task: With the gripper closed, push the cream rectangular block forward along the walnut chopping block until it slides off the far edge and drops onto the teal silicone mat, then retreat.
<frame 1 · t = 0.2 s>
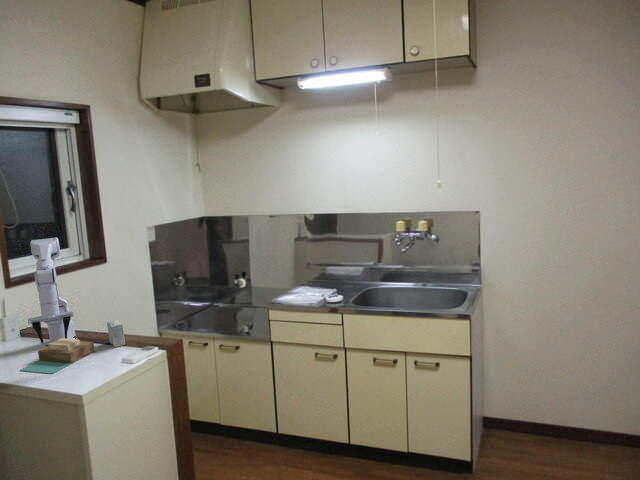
hand: (54, 340, 187), 11 cm above the countertop, tool pointing down, fingers open, 7 cm apart
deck: (67, 356, 200), on the countertop
medicine box: (117, 344, 211), on the countertop
mat: (45, 367, 191), on the countertop
cream rectangular block: (65, 346, 199), point 4 cm above the countertop, touching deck
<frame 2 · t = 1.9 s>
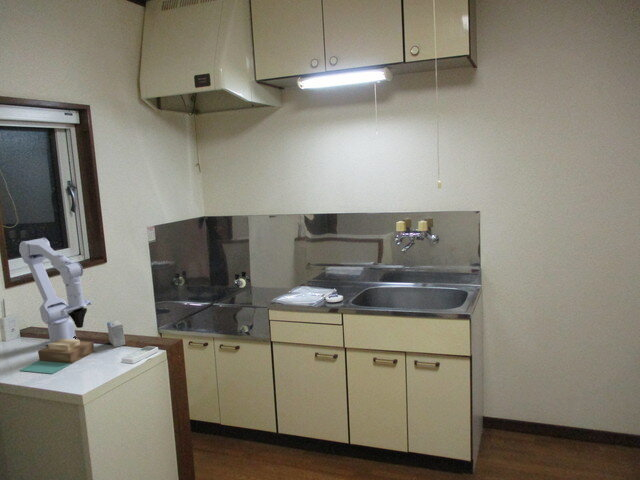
hand: (79, 327, 206), 9 cm above the countertop, tool pointing down, fingers closed
nothing on the countertop moved.
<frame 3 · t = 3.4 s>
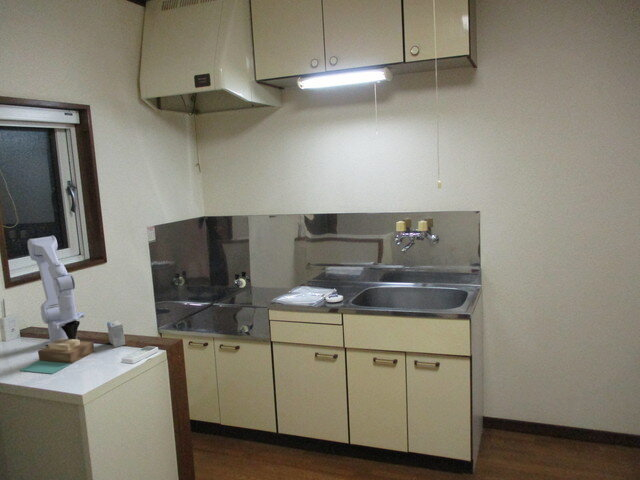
hand: (72, 340, 203), 5 cm above the countertop, tool pointing down, fingers closed
cream rectangular block: (64, 346, 199), point 4 cm above the countertop, touching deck, gripper
everything else where it was.
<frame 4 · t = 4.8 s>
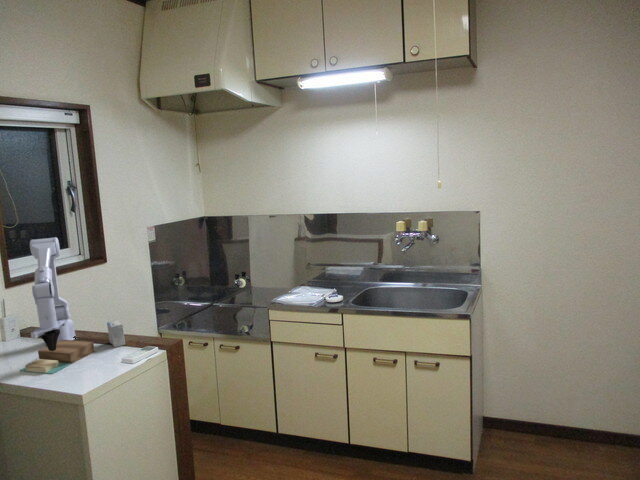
hand: (52, 350, 194), 5 cm above the countertop, tool pointing down, fingers closed
cream rectangular block: (41, 363, 189), point 2 cm above the countertop, tilted 180°, touching mat
everything else where it was.
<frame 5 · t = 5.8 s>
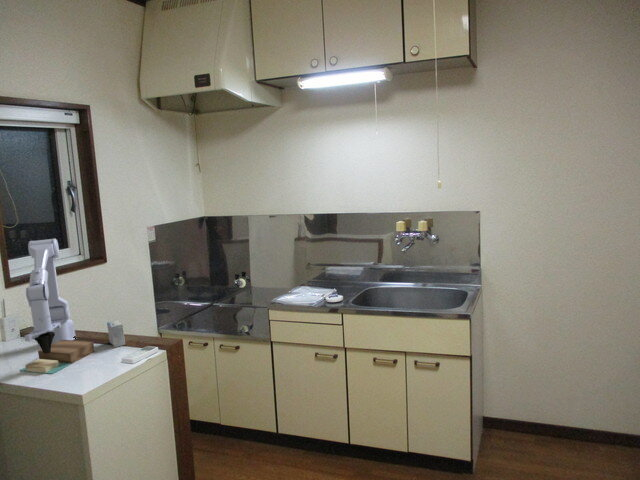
hand: (46, 352, 191), 5 cm above the countertop, tool pointing down, fingers closed
nothing on the countertop moved.
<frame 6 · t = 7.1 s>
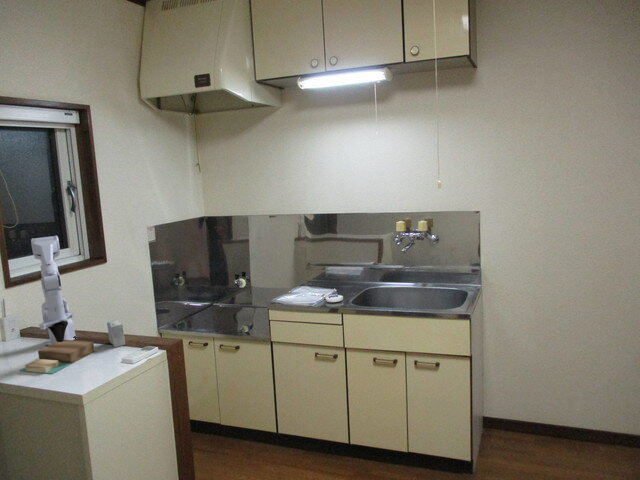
hand: (60, 341, 197), 7 cm above the countertop, tool pointing down, fingers closed
nothing on the countertop moved.
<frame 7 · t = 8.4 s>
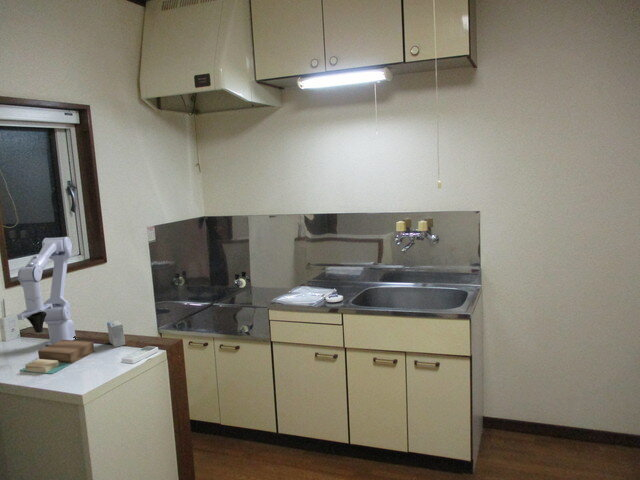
hand: (38, 332, 200), 10 cm above the countertop, tool pointing down, fingers closed
nothing on the countertop moved.
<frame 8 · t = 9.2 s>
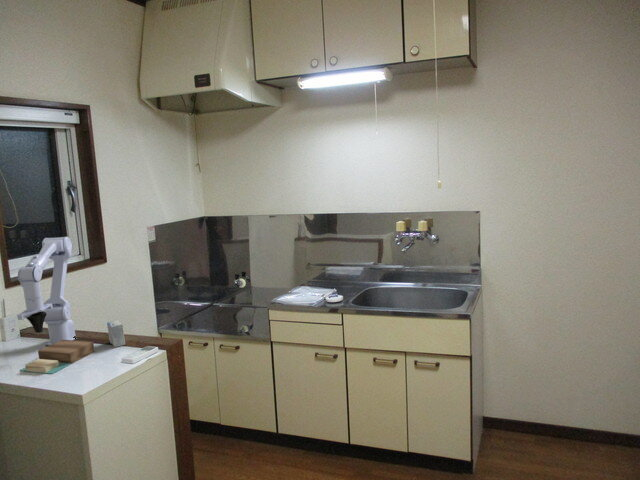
hand: (38, 332, 200), 10 cm above the countertop, tool pointing down, fingers closed
nothing on the countertop moved.
at the end: cream rectangular block point 2.3 cm above the countertop; cream rectangular block inside the target area (0.9 cm from its centre), point 2.3 cm above the countertop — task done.
